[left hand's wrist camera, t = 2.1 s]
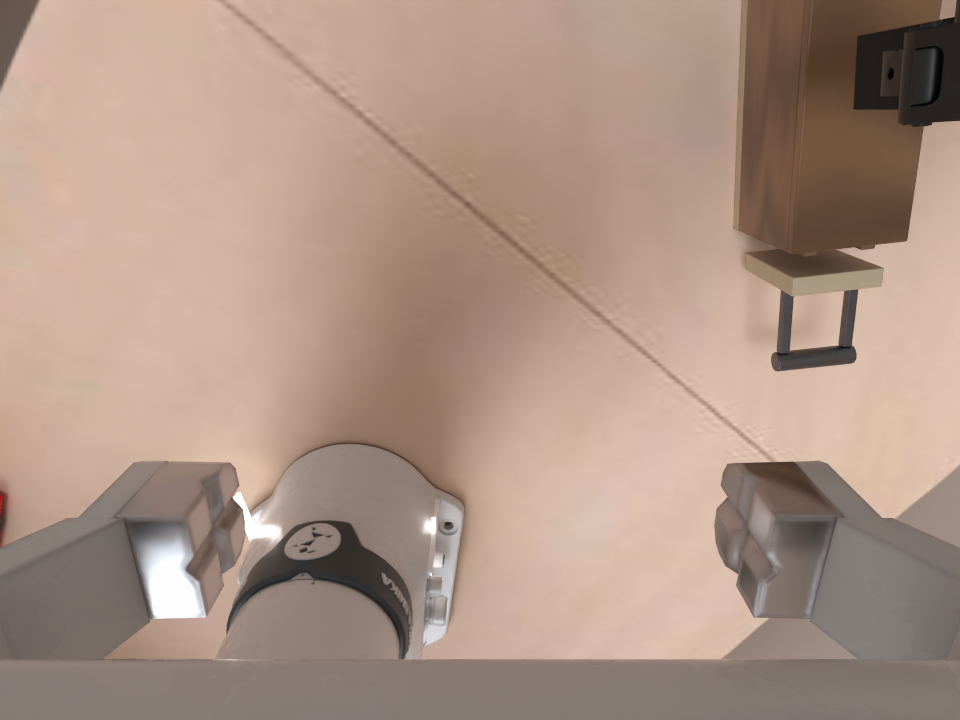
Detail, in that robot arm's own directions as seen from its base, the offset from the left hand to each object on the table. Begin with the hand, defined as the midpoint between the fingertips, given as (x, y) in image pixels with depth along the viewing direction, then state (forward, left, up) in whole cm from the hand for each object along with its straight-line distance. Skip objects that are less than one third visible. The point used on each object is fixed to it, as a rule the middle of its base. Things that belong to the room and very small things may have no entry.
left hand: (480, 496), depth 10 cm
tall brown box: (+6, -21, -36) cm, 42 cm away
